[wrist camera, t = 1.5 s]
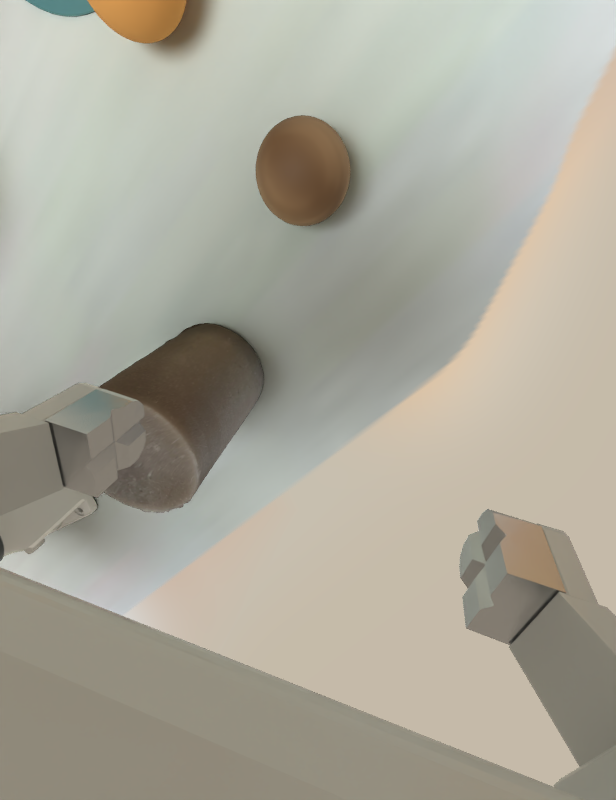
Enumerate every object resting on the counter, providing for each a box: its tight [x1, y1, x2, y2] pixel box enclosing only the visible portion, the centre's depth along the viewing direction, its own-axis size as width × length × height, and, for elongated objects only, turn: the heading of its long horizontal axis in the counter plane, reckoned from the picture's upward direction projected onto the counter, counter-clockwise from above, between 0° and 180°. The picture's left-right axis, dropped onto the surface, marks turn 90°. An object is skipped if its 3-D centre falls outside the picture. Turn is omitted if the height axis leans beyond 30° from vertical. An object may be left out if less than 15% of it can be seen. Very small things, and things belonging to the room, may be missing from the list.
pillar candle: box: [99, 323, 263, 513], centre depth 30 cm, size 10×10×15 cm
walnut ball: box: [256, 115, 350, 226], centre depth 24 cm, size 6×6×6 cm
